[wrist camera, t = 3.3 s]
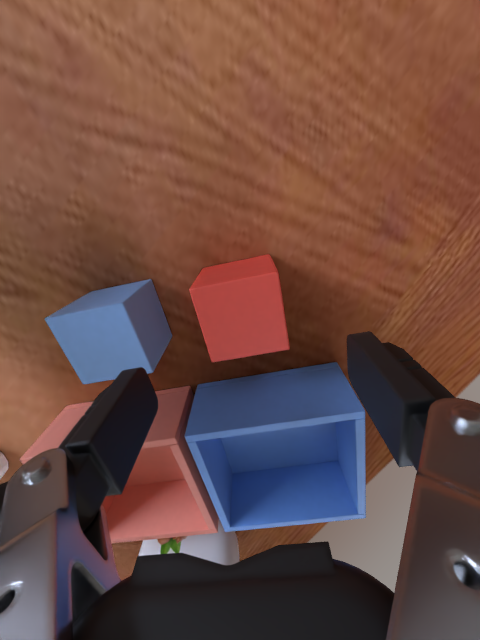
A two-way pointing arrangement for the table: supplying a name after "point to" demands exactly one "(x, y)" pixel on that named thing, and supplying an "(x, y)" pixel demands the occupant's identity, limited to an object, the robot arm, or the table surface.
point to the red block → (241, 308)
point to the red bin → (151, 475)
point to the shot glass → (3, 465)
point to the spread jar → (198, 546)
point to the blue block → (112, 331)
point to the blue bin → (280, 448)
